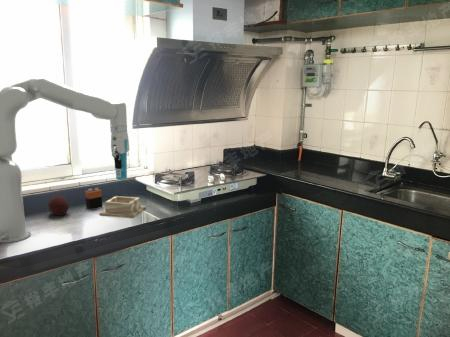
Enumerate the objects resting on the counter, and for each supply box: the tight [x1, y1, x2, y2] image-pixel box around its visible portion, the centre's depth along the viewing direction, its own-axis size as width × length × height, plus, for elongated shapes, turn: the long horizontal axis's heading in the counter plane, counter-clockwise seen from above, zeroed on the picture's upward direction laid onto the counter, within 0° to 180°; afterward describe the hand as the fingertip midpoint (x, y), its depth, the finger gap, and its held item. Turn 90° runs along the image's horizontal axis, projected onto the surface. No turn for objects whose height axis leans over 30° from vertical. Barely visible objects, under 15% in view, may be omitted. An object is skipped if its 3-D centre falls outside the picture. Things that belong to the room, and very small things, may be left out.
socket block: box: [98, 195, 146, 219], centre depth 186 cm, size 15×17×6 cm
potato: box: [47, 195, 70, 216], centre depth 181 cm, size 9×12×9 cm
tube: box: [113, 138, 129, 181], centre depth 181 cm, size 7×5×19 cm, turn 96°
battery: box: [84, 187, 103, 211], centre depth 192 cm, size 4×7×10 cm, turn 136°
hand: (120, 166), depth 182 cm, fingers closed on tube, 4 cm apart
